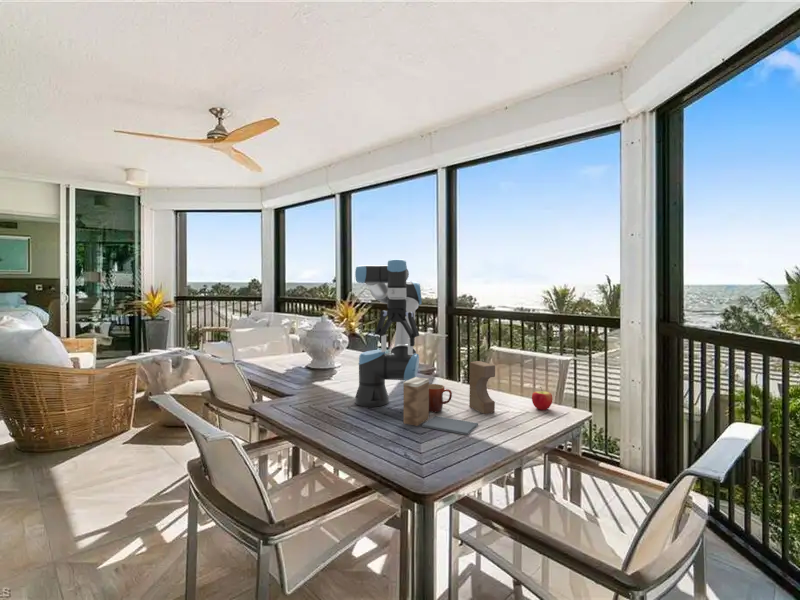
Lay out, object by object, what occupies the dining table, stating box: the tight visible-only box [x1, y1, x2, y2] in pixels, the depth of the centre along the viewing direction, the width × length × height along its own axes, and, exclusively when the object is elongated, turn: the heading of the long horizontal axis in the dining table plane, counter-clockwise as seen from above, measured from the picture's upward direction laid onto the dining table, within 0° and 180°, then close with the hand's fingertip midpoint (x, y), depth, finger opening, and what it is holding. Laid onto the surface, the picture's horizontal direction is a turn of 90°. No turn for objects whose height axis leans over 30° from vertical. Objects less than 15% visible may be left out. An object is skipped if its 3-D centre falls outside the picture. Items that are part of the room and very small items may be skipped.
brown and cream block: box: [402, 376, 430, 427], centre depth 174 cm, size 6×10×16 cm, turn 151°
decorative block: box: [468, 360, 496, 415], centre depth 188 cm, size 11×6×20 cm, turn 25°
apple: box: [531, 386, 553, 411], centre depth 190 cm, size 8×8×10 cm
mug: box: [429, 383, 453, 413], centre depth 187 cm, size 12×9×10 cm
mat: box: [421, 415, 479, 436], centre depth 169 cm, size 18×12×1 cm, turn 61°
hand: (396, 352), depth 178 cm, fingers open, 11 cm apart
